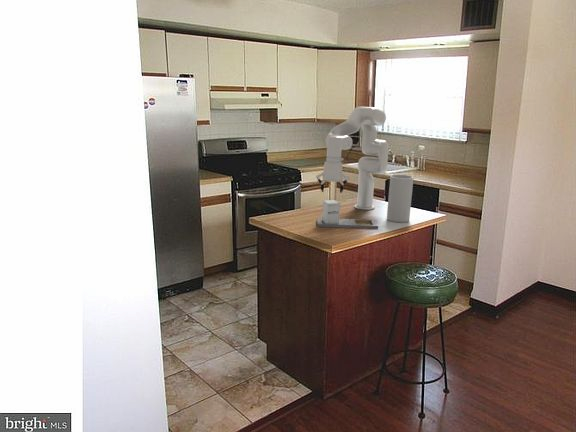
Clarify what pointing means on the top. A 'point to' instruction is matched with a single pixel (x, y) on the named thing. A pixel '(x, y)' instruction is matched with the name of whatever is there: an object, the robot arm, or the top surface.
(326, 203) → the supplement box
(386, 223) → the top surface
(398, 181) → the cylinder vase
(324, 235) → the top surface
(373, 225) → the grey flat plate
